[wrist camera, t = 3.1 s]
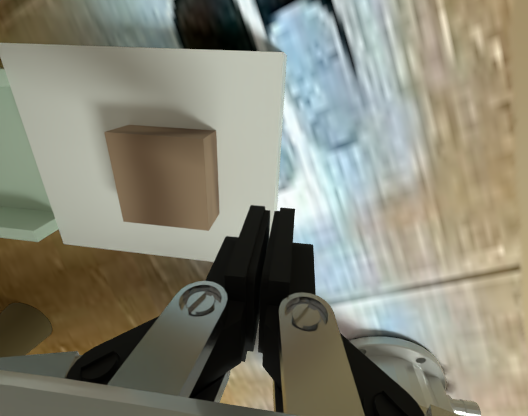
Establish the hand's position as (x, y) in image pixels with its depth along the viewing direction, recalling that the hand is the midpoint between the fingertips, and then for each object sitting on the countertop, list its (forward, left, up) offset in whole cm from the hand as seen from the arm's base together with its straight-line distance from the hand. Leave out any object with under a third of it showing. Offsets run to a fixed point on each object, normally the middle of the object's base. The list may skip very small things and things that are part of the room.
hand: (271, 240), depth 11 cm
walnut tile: (+8, +1, -9) cm, 12 cm away
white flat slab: (+10, +1, -12) cm, 15 cm away
